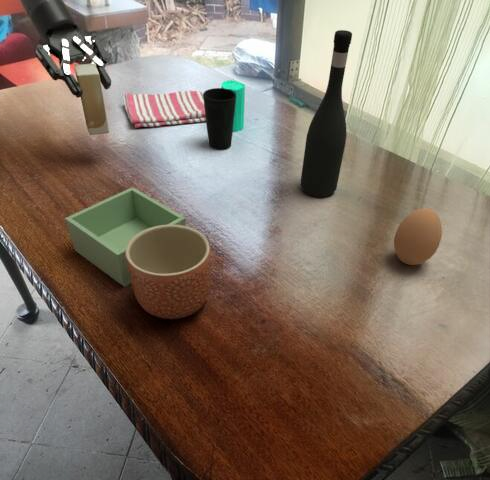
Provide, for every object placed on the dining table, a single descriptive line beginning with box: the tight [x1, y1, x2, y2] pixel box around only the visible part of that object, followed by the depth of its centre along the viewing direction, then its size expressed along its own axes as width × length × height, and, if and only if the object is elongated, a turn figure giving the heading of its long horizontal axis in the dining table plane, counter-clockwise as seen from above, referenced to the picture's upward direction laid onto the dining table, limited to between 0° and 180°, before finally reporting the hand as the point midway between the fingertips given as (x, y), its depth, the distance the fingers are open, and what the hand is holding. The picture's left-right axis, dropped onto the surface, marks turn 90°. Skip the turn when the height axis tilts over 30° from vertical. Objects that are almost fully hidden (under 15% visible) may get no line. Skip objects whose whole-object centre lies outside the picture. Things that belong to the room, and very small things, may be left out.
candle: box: [221, 79, 246, 133], centre depth 116 cm, size 6×6×12 cm
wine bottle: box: [300, 29, 353, 198], centre depth 89 cm, size 8×8×30 cm
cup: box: [202, 87, 236, 151], centre depth 109 cm, size 8×8×12 cm
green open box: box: [64, 186, 187, 288], centre depth 81 cm, size 15×15×7 cm
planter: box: [125, 225, 212, 320], centre depth 70 cm, size 12×12×11 cm
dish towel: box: [122, 90, 206, 129], centre depth 124 cm, size 17×23×4 cm
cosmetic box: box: [73, 63, 110, 136], centre depth 96 cm, size 6×4×12 cm
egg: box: [393, 207, 443, 266], centre depth 79 cm, size 8×8×11 cm
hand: (94, 90), depth 93 cm, fingers closed on cosmetic box, 6 cm apart
